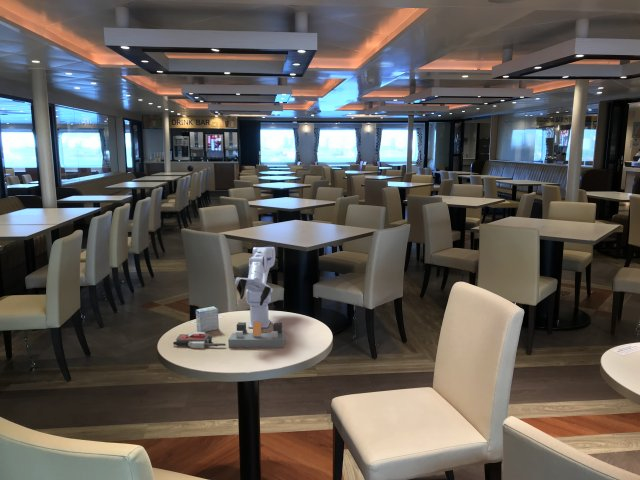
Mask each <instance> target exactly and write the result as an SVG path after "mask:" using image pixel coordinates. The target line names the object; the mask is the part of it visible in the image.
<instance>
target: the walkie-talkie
mask: <svg viewBox="0 0 640 480" xmlns="http://www.w3.org/2000/svg"><path fill="white" fill-rule="evenodd" d="M212 339H213V337H212V336H211V334H210V333H209V334H207V333H206V332H199V331H194V332H192V333H191V334H190V333H189V332H186V333H183V334H179V335H178V336H177V338H176V340H175V341H173V343H172V344H173V345H174V346H177V347H189V348H191V349H205V348H207V347H220V346H221V347H223V346H226V345H227V344H226V343H223V342H222V343H217V342H216V343H211V342H212V341H213V340H212Z"/></svg>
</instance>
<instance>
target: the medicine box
mask: <svg viewBox="0 0 640 480" xmlns="http://www.w3.org/2000/svg"><path fill="white" fill-rule="evenodd" d="M195 318H196V319H195V320H196V321H195V322H196V330H197V332H205V333H206V332H209V331H215V330H219V329H220V325H219V309H218V308H217V307H215V306H209V307H203V308H198V309H197V308H196V309H195Z"/></svg>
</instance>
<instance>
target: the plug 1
mask: <svg viewBox="0 0 640 480" xmlns="http://www.w3.org/2000/svg"><path fill="white" fill-rule="evenodd" d="M236 331H243V333H248V329H247V322H246V321H244V322H241V321H238V322H237V324H236Z"/></svg>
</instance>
